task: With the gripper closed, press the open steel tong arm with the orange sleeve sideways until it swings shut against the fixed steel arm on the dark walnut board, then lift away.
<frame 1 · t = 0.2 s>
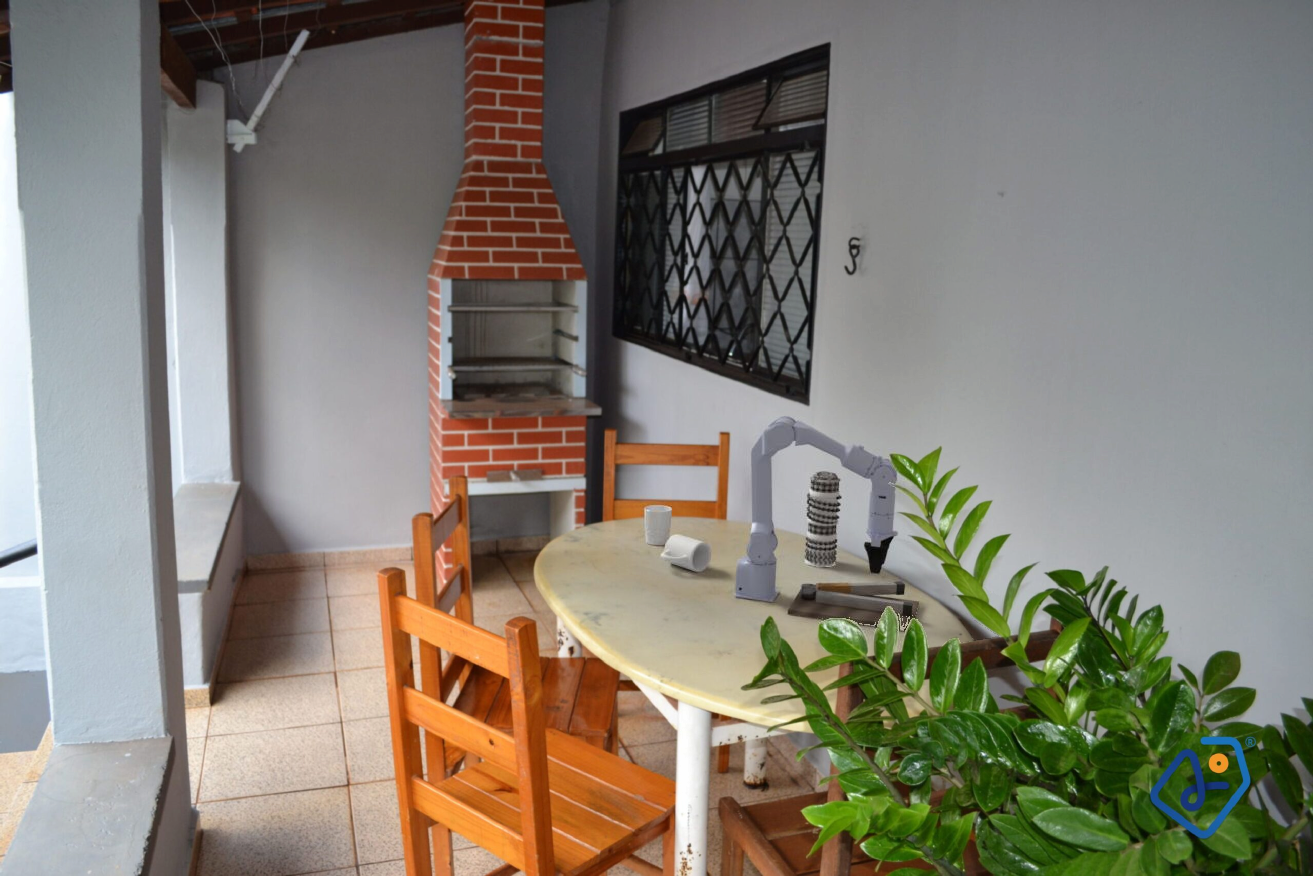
hand: (877, 568, 230), 10 cm above the table, tool pointing down, fingers open, 7 cm apart
tong arm: (853, 590, 235), point 3 cm above the table, hinge at 28.0°
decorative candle: (820, 563, 265), on the table
walnut board: (854, 610, 230), on the table
white cup: (657, 542, 280), on the table
mug: (681, 569, 257), on the table
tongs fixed: (807, 603, 234), resting on walnut board
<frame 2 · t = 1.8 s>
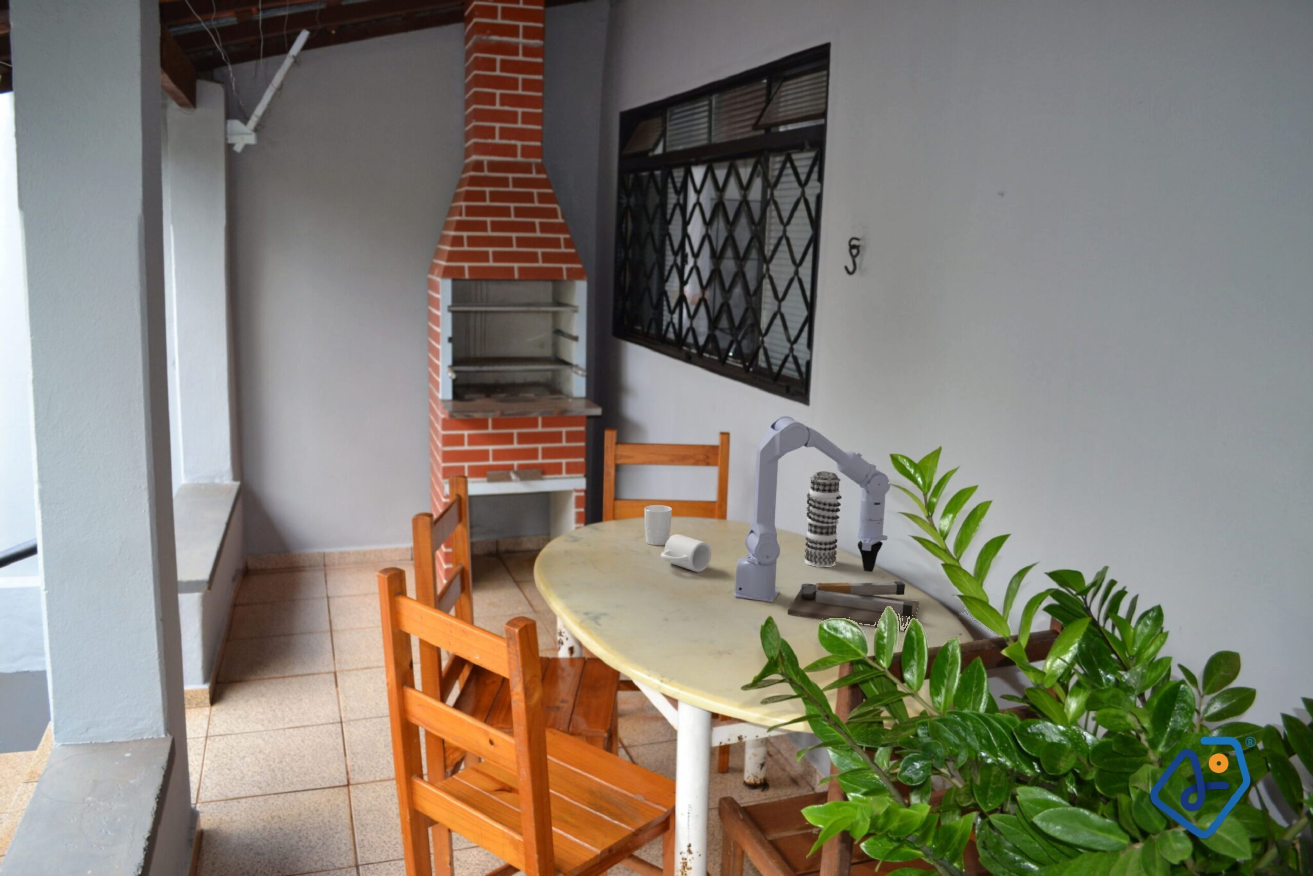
hand: (868, 570, 242), 5 cm above the table, tool pointing down, fingers closed
nothing on the table moved.
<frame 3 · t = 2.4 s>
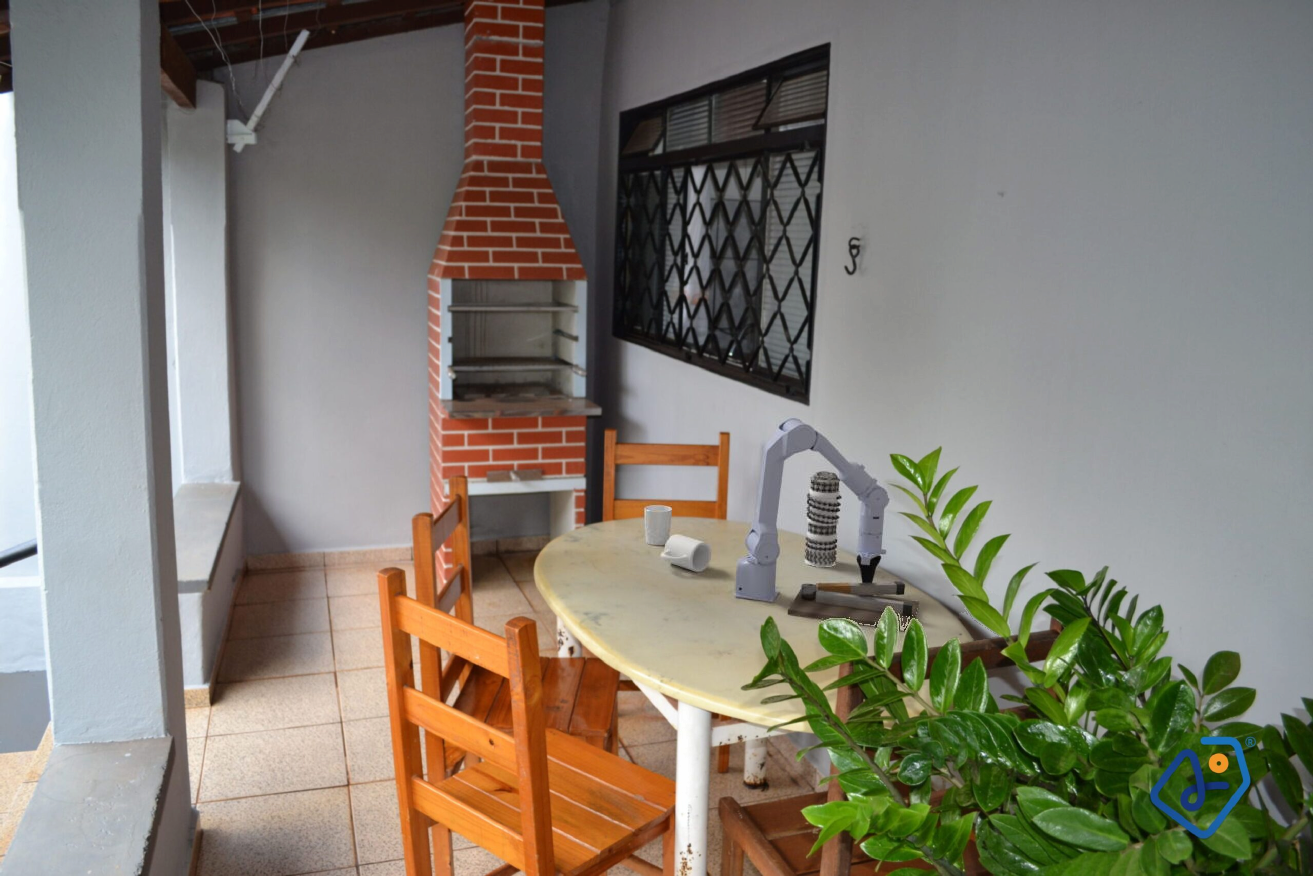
hand: (867, 584, 242), 2 cm above the table, tool pointing down, fingers closed
nothing on the table moved.
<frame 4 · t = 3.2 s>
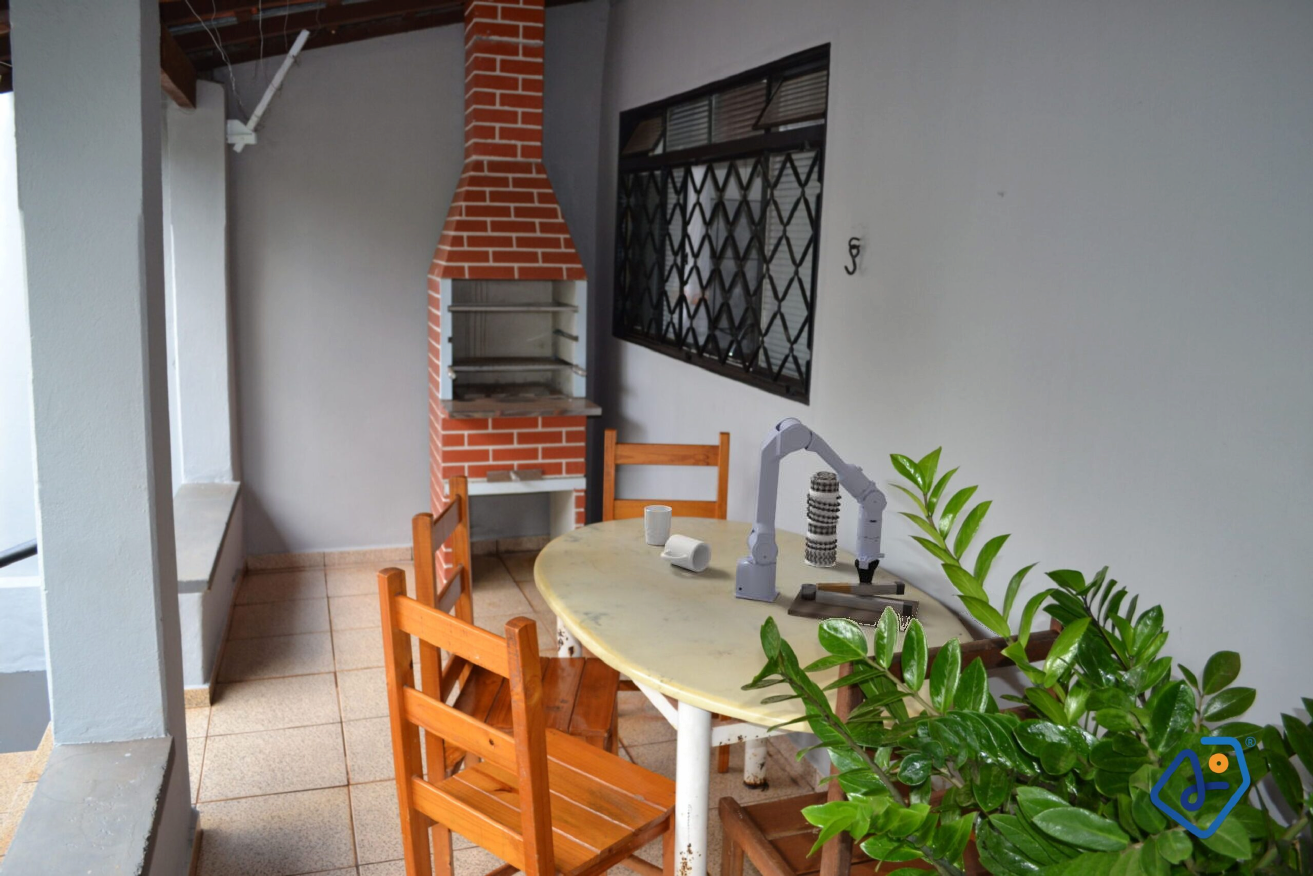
hand: (865, 588, 239), 2 cm above the table, tool pointing down, fingers closed
tong arm: (853, 590, 235), point 3 cm above the table, hinge at 28.0°, touching gripper
everything else where it was.
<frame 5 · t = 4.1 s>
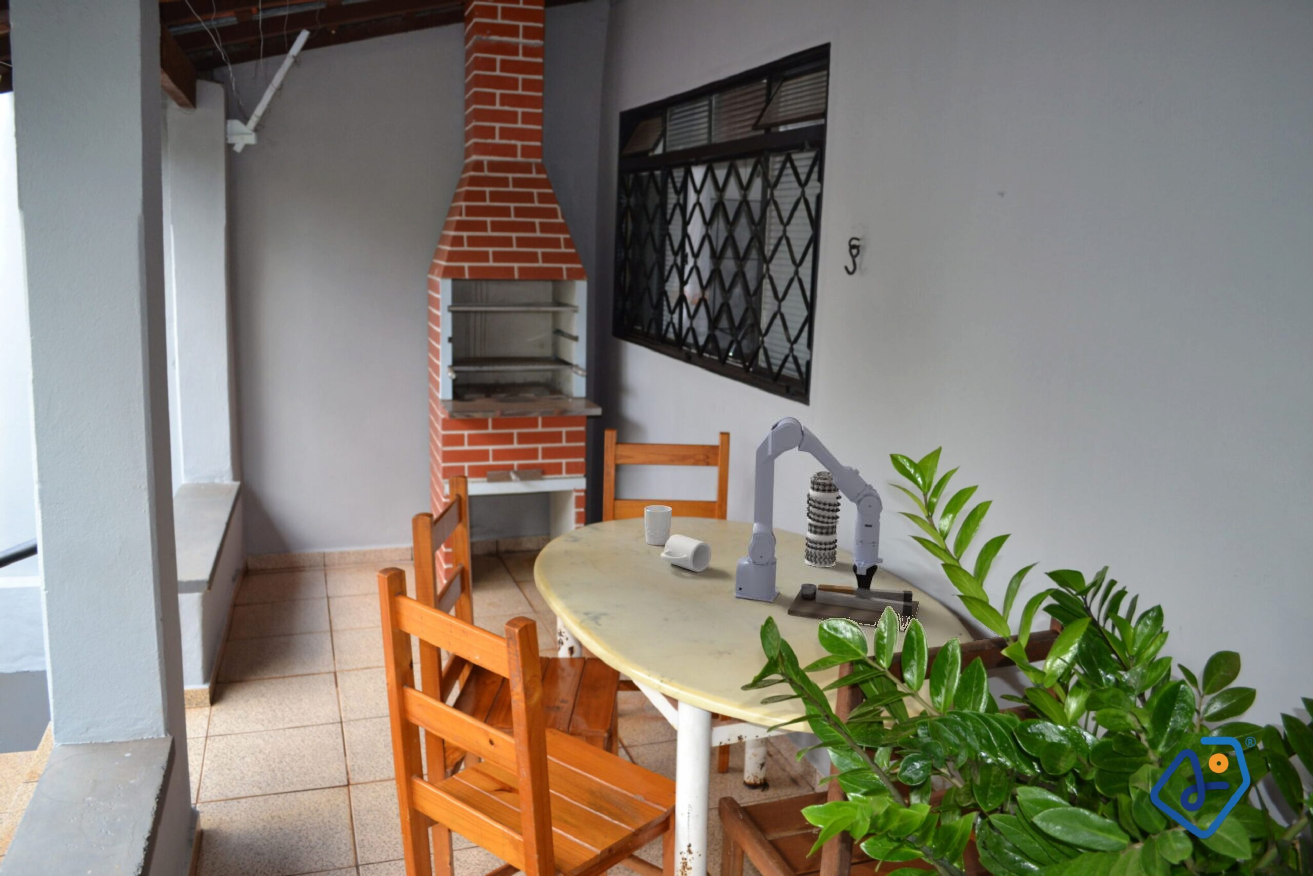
hand: (863, 594, 234), 2 cm above the table, tool pointing down, fingers closed
tong arm: (856, 594, 232), point 3 cm above the table, hinge at 12.0°, touching gripper
everything else where it was.
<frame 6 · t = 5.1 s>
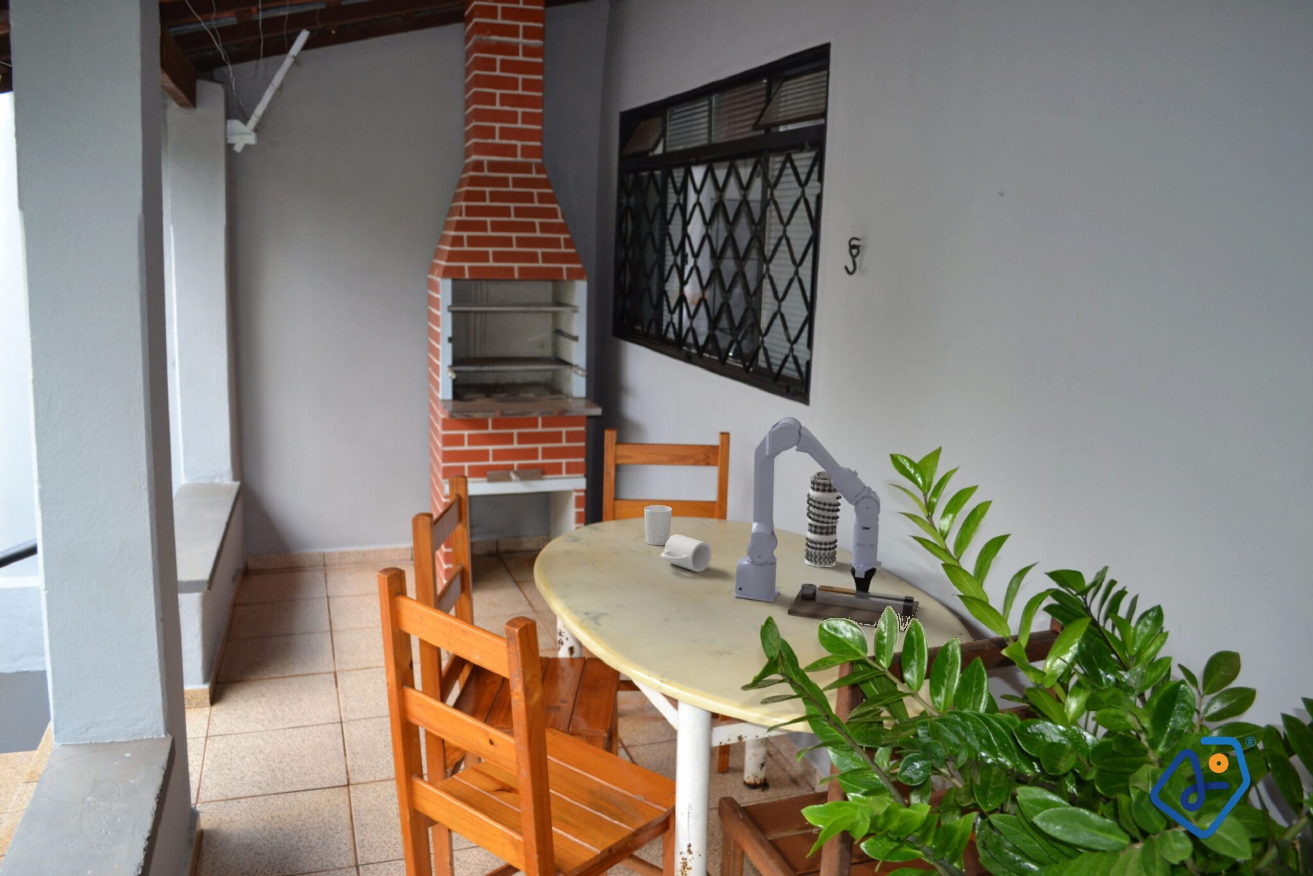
hand: (861, 597, 232), 2 cm above the table, tool pointing down, fingers closed
tong arm: (856, 597, 230), point 3 cm above the table, hinge at 1.8°, touching gripper
everything else where it was.
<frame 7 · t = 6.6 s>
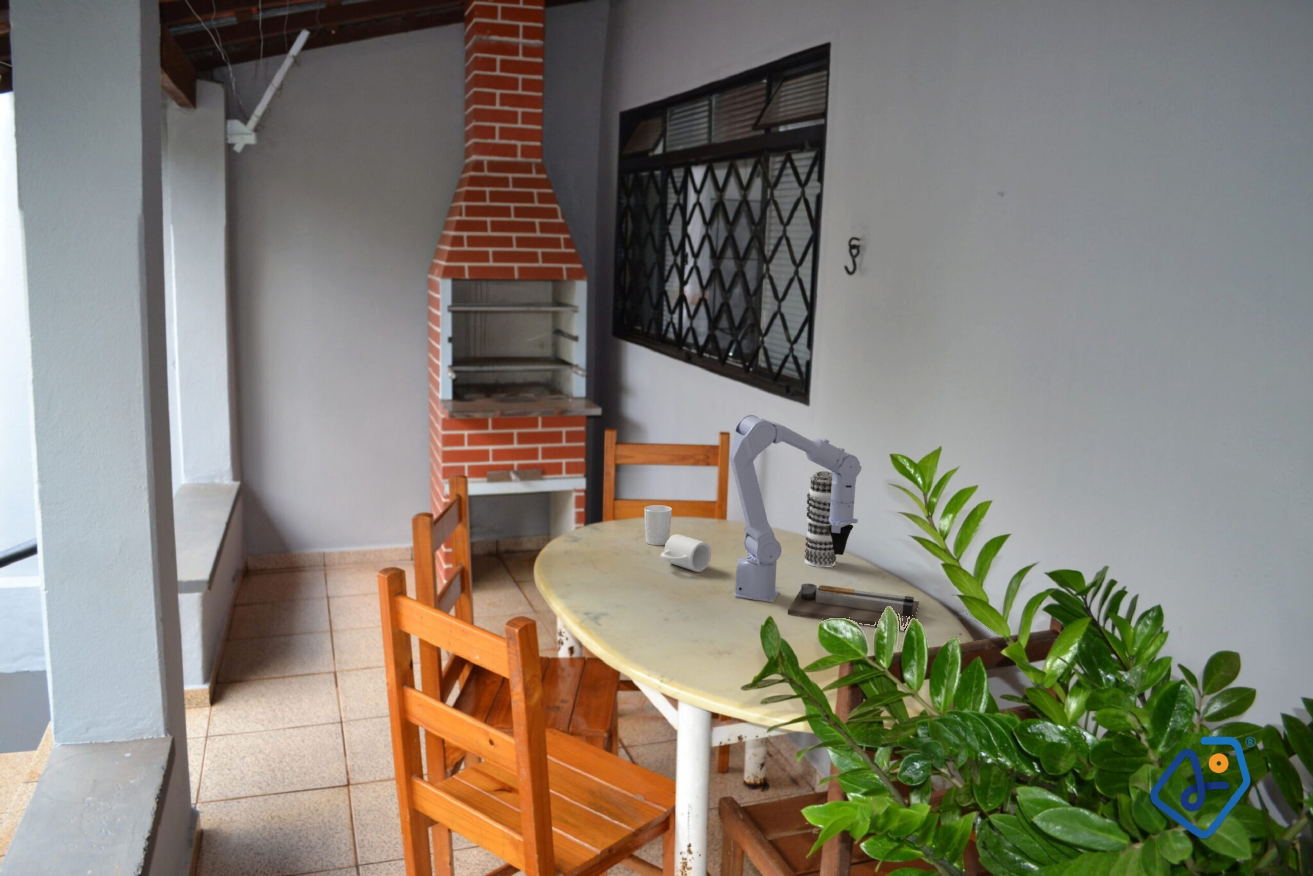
hand: (838, 553, 242), 9 cm above the table, tool pointing down, fingers closed
tong arm: (856, 597, 230), point 3 cm above the table, hinge at 1.8°
everything else where it was.
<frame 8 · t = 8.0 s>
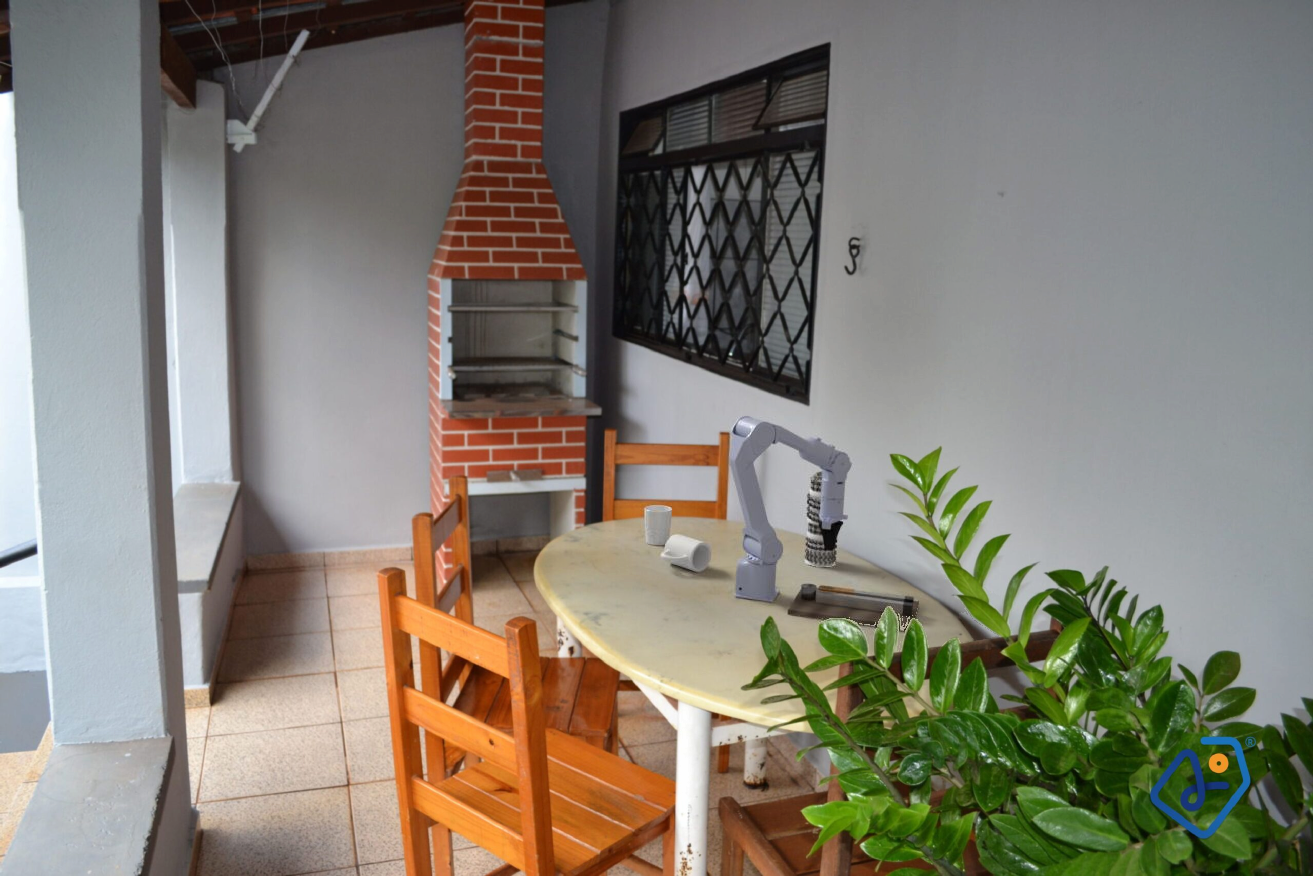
hand: (829, 549, 245), 9 cm above the table, tool pointing down, fingers closed
nothing on the table moved.
at the end: tong arm at +2° (first picture: +28°) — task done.
